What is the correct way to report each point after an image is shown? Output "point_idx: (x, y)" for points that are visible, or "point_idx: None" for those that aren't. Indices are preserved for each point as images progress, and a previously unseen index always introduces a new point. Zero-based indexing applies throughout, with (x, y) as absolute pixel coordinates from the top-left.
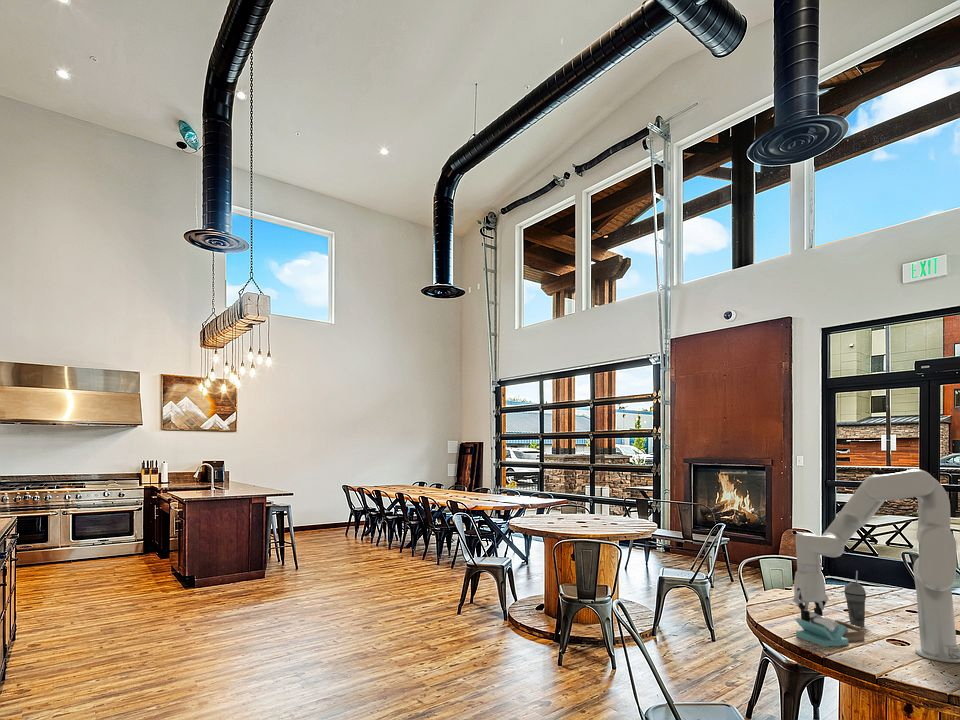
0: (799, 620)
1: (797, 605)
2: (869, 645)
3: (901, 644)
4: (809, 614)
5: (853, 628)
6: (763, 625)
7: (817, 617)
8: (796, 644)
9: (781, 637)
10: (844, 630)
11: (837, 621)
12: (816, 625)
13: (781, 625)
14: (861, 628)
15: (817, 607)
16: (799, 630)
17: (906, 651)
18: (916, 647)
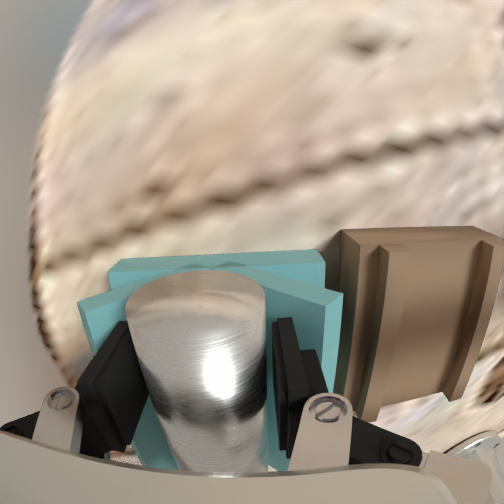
0: (88, 337)
1: (13, 424)
2: (392, 415)
3: (490, 396)
4: (156, 406)
5: (455, 364)
6: (81, 26)
7: (178, 460)
8: (63, 355)
9: (39, 254)
10: None
11: (487, 261)
12: (138, 452)
13: (195, 22)
14: (459, 396)
15: (290, 443)
16: (131, 275)
17: (433, 449)
18: (461, 451)
